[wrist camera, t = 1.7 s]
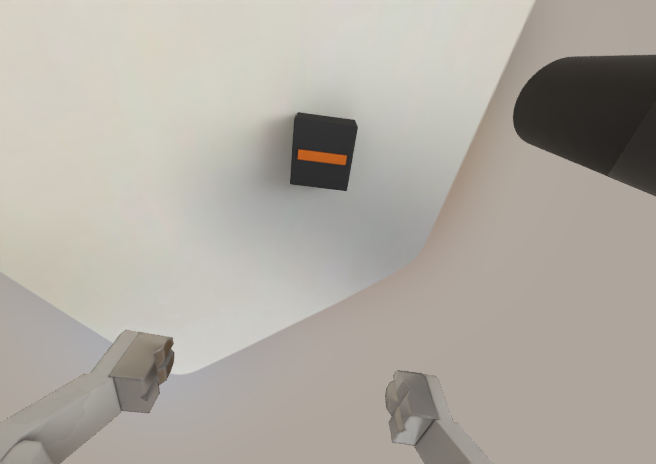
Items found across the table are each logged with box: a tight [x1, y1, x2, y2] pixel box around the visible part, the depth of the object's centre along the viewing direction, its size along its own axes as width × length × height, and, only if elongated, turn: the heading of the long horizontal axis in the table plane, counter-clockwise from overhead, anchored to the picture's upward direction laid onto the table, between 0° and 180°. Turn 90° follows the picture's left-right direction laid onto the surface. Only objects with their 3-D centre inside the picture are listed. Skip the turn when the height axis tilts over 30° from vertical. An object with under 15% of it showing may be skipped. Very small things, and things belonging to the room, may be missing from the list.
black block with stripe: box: [290, 113, 358, 191], centre depth 25 cm, size 5×6×3 cm
